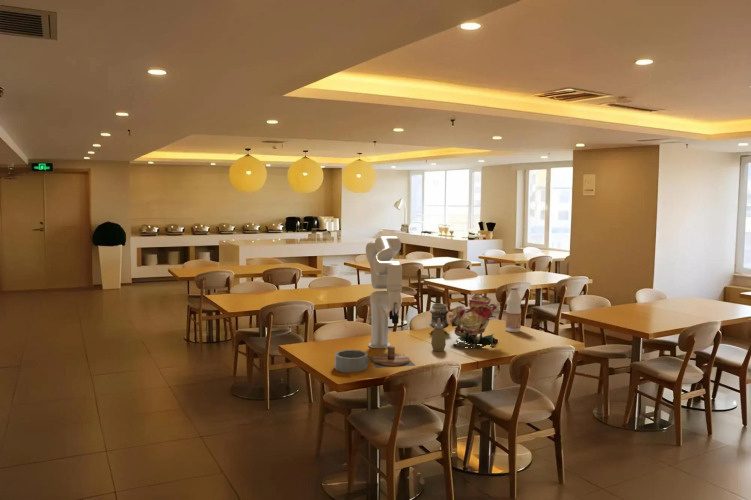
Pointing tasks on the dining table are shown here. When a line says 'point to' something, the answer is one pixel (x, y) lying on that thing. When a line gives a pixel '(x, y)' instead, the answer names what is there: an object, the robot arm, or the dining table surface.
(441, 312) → the apothecary jar
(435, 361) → the dining table surface
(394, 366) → the gray square mat
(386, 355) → the walnut lid
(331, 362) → the dining table surface
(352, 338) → the dining table surface
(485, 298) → the rose bouquet
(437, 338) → the squeeze bottle
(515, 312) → the fruit juice
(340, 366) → the slate bowl
